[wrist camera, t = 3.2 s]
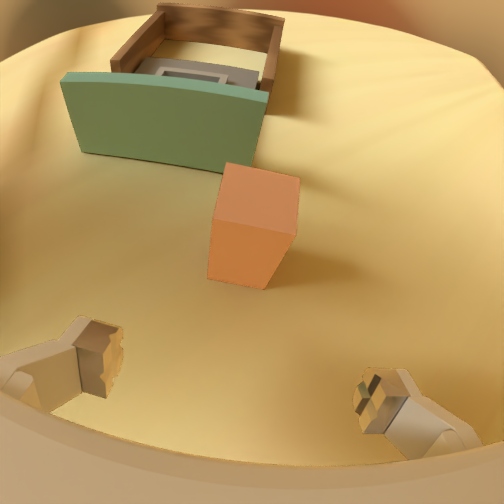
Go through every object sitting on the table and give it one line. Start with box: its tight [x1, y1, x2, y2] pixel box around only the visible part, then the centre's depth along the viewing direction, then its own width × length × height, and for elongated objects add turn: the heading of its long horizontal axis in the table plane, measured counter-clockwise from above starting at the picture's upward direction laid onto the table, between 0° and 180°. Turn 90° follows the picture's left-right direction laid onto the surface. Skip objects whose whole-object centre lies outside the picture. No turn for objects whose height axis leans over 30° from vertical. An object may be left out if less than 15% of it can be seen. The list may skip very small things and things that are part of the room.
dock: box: [110, 3, 285, 114], centre depth 34 cm, size 18×16×6 cm
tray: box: [60, 57, 269, 173], centre depth 28 cm, size 17×16×9 cm
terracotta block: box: [207, 162, 300, 289], centre depth 22 cm, size 4×4×9 cm
